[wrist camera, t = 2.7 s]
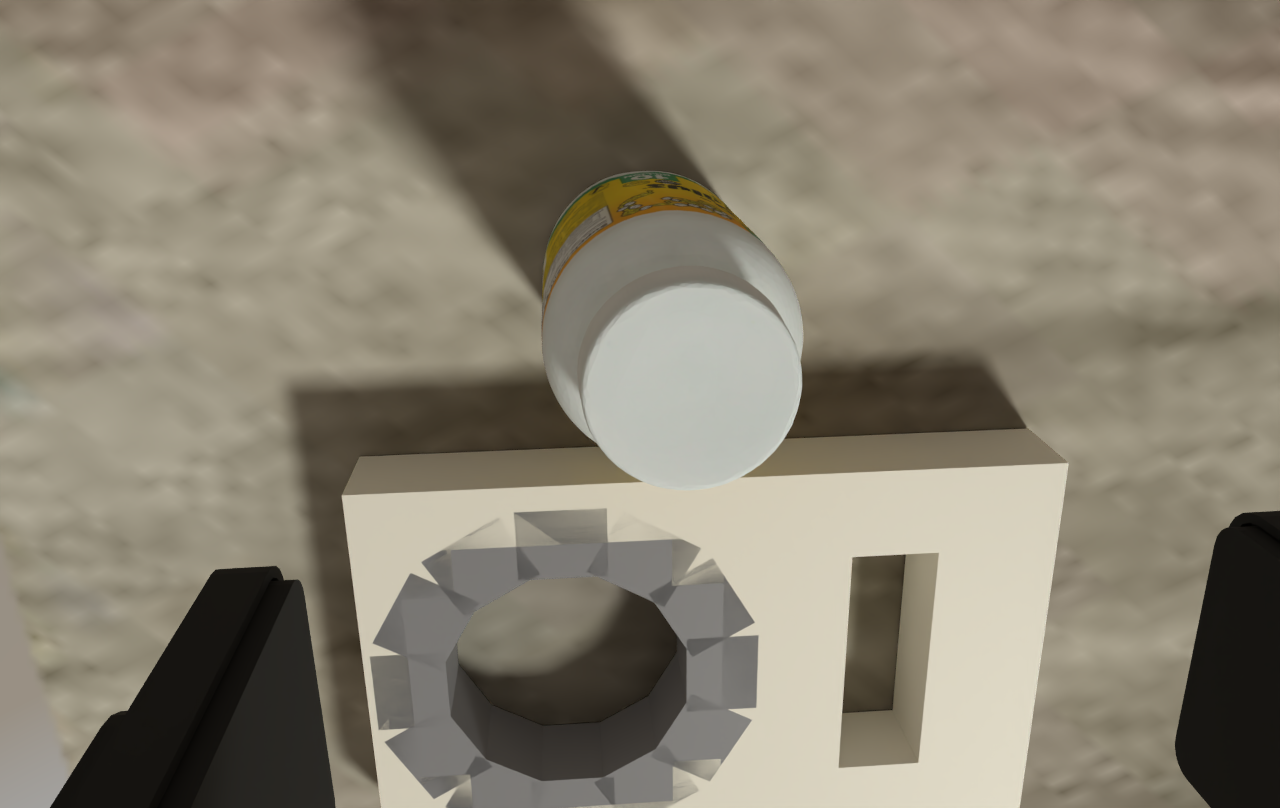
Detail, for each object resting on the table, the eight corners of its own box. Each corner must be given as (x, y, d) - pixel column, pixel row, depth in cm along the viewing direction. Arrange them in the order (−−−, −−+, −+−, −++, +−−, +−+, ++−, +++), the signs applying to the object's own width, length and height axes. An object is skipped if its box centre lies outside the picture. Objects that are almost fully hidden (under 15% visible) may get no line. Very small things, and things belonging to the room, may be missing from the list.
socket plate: (1028, 428, 30) (1068, 463, 27) (985, 767, 34) (1017, 822, 31) (359, 456, 28) (341, 495, 26) (400, 805, 32) (388, 865, 30)
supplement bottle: (503, 288, 27) (476, 419, 18) (627, 122, 26) (665, 173, 17) (663, 402, 28) (712, 576, 19) (787, 249, 27) (901, 359, 18)
